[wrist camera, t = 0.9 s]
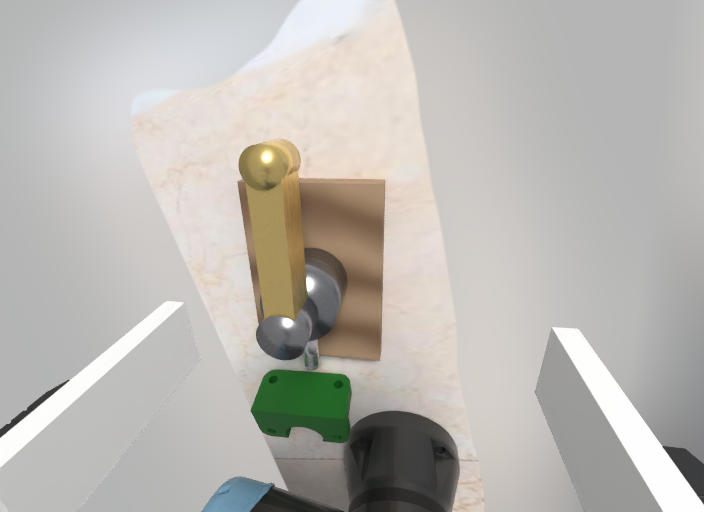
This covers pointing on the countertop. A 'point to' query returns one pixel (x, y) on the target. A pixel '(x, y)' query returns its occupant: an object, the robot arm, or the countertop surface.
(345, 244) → the stand
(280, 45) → the countertop surface
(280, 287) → the yellow bar
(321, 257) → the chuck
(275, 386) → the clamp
